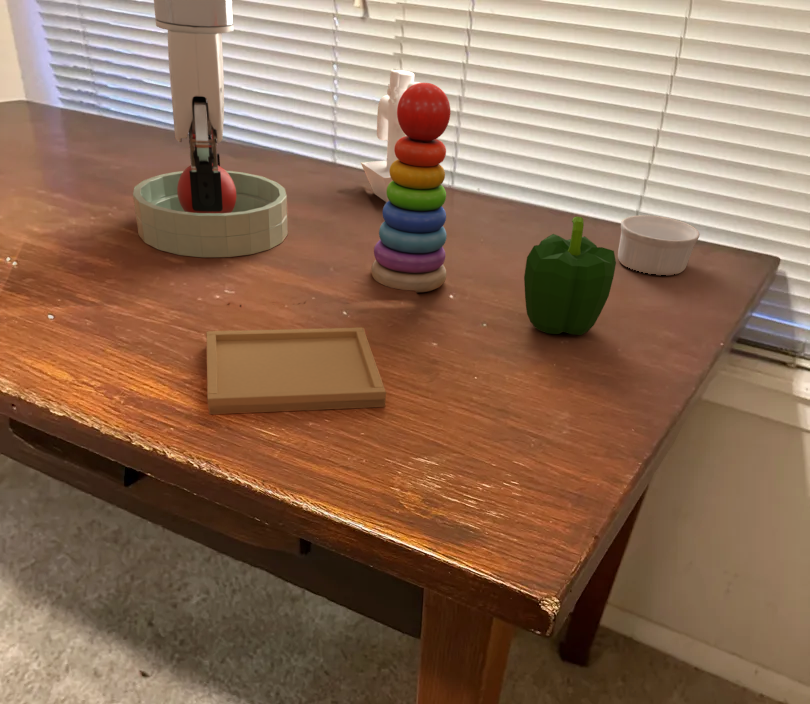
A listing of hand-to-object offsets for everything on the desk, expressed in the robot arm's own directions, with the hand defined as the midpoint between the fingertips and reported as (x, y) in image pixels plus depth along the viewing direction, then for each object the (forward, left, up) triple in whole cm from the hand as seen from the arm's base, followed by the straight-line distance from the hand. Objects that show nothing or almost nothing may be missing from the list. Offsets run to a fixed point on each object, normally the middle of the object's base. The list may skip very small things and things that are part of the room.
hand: (207, 198), depth 91 cm
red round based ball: (0, 0, -3) cm, 3 cm away
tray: (+6, -34, -4) cm, 35 cm away
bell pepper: (+33, -26, -4) cm, 42 cm away
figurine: (+24, +15, -4) cm, 29 cm away
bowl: (0, 0, -4) cm, 4 cm away
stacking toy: (+20, -14, -4) cm, 25 cm away
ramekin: (+50, -10, -4) cm, 52 cm away
